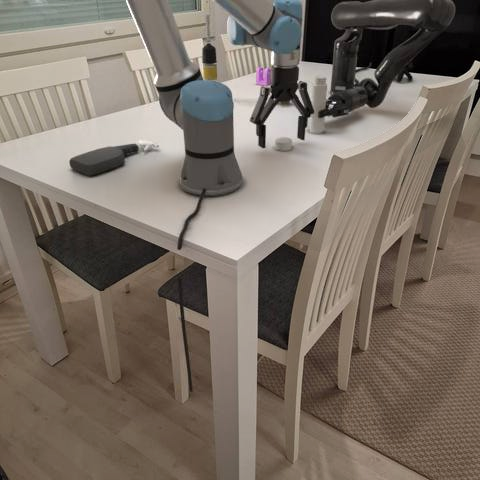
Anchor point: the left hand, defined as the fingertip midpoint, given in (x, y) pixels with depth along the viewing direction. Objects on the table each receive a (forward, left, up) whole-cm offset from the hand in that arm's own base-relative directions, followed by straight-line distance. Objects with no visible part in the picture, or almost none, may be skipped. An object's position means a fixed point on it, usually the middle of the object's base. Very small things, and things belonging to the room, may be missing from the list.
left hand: (281, 142), depth 130 cm
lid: (0, 0, 0) cm, 1 cm away
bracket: (+79, +27, -2) cm, 84 cm away
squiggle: (+99, -28, -2) cm, 103 cm away
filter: (+46, +41, -2) cm, 62 cm away
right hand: (+15, -6, +5) cm, 17 cm away
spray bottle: (-22, +41, -2) cm, 47 cm away
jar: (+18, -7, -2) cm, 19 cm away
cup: (+46, +11, -2) cm, 47 cm away
